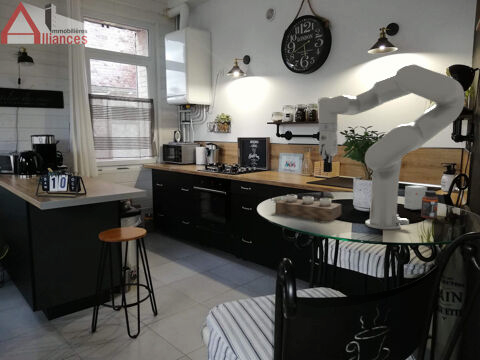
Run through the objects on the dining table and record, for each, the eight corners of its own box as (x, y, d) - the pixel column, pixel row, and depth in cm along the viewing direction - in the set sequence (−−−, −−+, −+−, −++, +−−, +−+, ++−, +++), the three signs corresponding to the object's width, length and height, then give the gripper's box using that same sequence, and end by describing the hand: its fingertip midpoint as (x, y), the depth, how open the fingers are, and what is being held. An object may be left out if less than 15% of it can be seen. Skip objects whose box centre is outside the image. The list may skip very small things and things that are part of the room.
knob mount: (341, 215, 152) (341, 204, 152) (331, 221, 143) (331, 209, 142) (287, 208, 167) (287, 198, 166) (275, 212, 157) (275, 202, 157)
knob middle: (315, 211, 155) (315, 196, 154) (310, 213, 151) (311, 198, 150) (305, 209, 158) (305, 195, 157) (300, 211, 154) (300, 196, 153)
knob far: (298, 209, 160) (298, 194, 159) (293, 211, 156) (294, 196, 155) (289, 207, 163) (289, 193, 162) (284, 209, 159) (284, 195, 158)
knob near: (332, 213, 151) (332, 198, 150) (328, 215, 147) (328, 200, 146) (321, 212, 153) (322, 197, 153) (317, 214, 150) (318, 198, 149)
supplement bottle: (436, 220, 144) (438, 192, 143) (420, 218, 147) (422, 191, 146) (437, 217, 149) (438, 190, 148) (421, 215, 152) (423, 189, 151)
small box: (416, 206, 171) (418, 185, 170) (426, 208, 166) (427, 186, 165) (403, 207, 169) (404, 185, 167) (412, 209, 163) (414, 187, 162)
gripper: (330, 127, 137) (329, 174, 139) (342, 128, 149) (342, 170, 151) (312, 128, 141) (312, 173, 143) (325, 128, 154) (325, 170, 156)
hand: (327, 171), depth 147 cm, fingers closed
